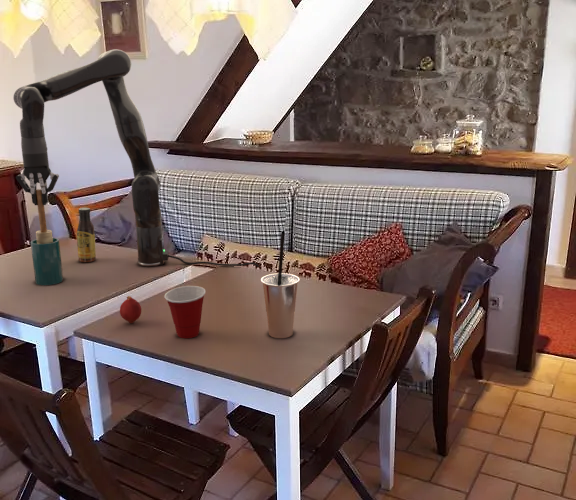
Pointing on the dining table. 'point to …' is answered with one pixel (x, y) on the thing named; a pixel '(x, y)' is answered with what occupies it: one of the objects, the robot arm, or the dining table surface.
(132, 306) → the onion
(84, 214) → the sauce bottle
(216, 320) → the dining table surface
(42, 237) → the wooden peg with cap
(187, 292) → the plastic cup
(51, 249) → the teal cylindrical container
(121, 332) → the dining table surface
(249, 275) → the dining table surface
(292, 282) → the metal cup with straw
